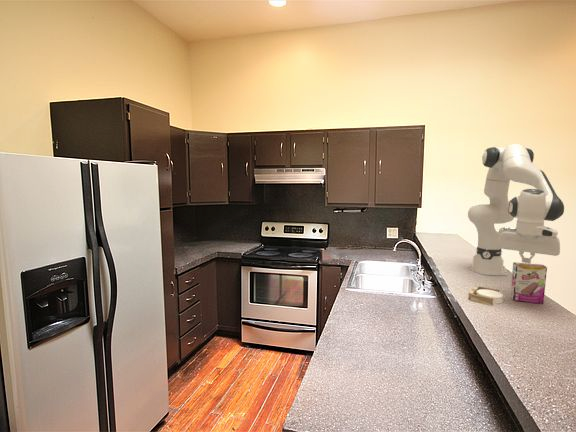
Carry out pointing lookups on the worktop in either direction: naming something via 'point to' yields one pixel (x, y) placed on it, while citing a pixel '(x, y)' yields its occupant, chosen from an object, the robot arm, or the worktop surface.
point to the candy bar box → (528, 282)
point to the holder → (481, 298)
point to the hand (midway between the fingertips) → (526, 262)
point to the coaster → (491, 295)
